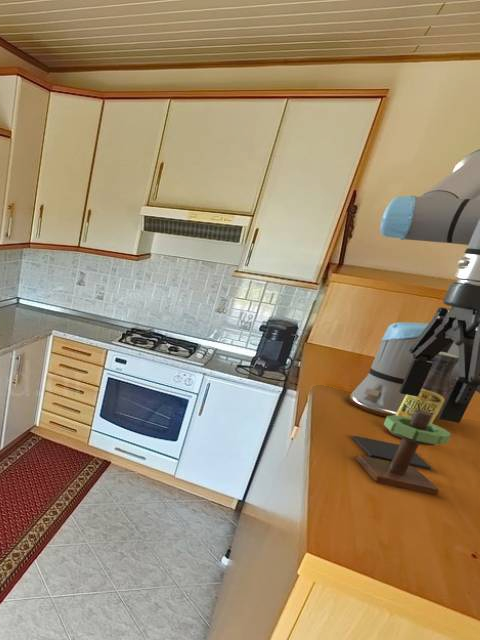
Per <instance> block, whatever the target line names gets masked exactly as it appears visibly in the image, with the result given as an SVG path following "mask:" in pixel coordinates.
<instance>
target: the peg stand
mask: <svg viewBox="0 0 480 640" xmlns="http://www.w3.org/2000/svg"><path fill="white" fill-rule="evenodd" d="M432 416H433V415H432V414H430V413H428V412H425V411H420V410H415V412H414V414H413V416H412V418H411V420H410V423H409V425H408V426H410V427H413V428H416V429H419V430H424V431H426V428H427V426H428V424H429V422H430V420H431V418H432ZM390 432H391V433H390ZM390 432H389V433H390V434H392V435H393V434H394V435H393V436H395V437H397V438H399V437H400V439H401V440H400V441H399V444H398V445H399V447H398V449H397V451H396V453H395V455H394V458H393V460H392V461H387V460H383V459H378V458H373V457H370V456H366V455H361V454H358V456H357V459H356V461H357V462H358V463H359V465H360V466H361V467H362V468H363V469H364V470H365V472H367V474H368V475H369V476H370V477H371V478H372V480H373V481H374V482H375V483H379V484H383V485H388V486H393V487H398V488H401V489H406V490H410V491H415V492H418V493H423V494H428V495H434V496H437V494H438V492H439V491H440V489H439V488H437V486H436V485H434V483H432V481H430V480H429V479H428V478H427V477H426V476H425V475H424V474H423V473H421V472H420V470H418V469H417V467H415V466H411V465H409V464H410V462H411V460H412V458H413V456H414V454H416V452H417V450H418V448H419V445H423V446H436V445H437V444H431V443H426V442H421V441H416V440H415V439H410V438H407V437H405V436H402V435H399V434H397V433H394V432H393V431H390Z"/></svg>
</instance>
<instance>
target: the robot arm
mask: <svg viewBox="0 0 480 640" xmlns="http://www.w3.org/2000/svg"><path fill="white" fill-rule="evenodd" d="M380 233H381V235H382V236H384V237H386V238H392V239H393V238H394V239H400V240H401V241H404V240H405V241H419V242H431V243H442V244H443V243H444V244H453V245H454V244H455V245H464V246H467V247H466V249H465V250H464V254H463V256H462V258H461V259H459V260H458V261H457V266H458V267H457V269H456V271H455V275H454V276H453V277H454V278H455V279H456V280H457V282H452V283H450V284H449V286H448V289H447V291H446V293H445V295H444V297H443V300H442V302H443V304H444V305H446V306H449V308H448V307H441V306H440V307H438V308H437V309H436V311H435V313H434V315H433V317H432V319H431V320H430V321H429V323H427V322H412V321H411V322H408V321H400V322H399V321H398V322H394V323H392V324H390V325H389V326H388V327H387V329H386V331H385V332H384V335H383V336H382V338H381V339H380V340H381V342H380V344H379V347H378V349H377V352H376V353H375V357H374V359H373V362H372V364H371V366H370V369H369V371H368V373H367V375H366V376H365V378H364V379H363V380H362V381H361V382H360V383H359V384H358V385H357V387H356V388H355V389H354V390H353V391H352V392H351V393H350V396H349V398H348V402H349V403H350V404H351V405H352V406H354V407H356V408H358V409H361V410H363V411H365V412H368V413H371V414H374V415H376V416H380V417H383V418H386V417H387V416H392V415H396V413H397V411H398V409H399V408H400V406H401V404H402V402H403V400H404V398H405V396H406V395H412V396H417V397H418V395H419V393H420V391H421V389H422V386H423V384H424V382H425V380H426V378H427V375H428V373H429V371H430V369H431V367H432V364H433V363H431V362H435V361H433V360H435V358H434V357H435V356H436V355H437V354H438V353H440V352H445V353H449V354H453V355H456V356H459V361H458V363H456V364H455V366H454V368H453V370H452V371H451V374H450V376H449V380H450V384H451V388H450V391H449V392H448V394H447V396H446V398H445V401H444V403H443V405H442V407H441V408H440V410H439V412H438V414H437V416H436V419H438V420H442V421H447V422H452V423H456V424H457V423H461V420H462V419H463V417H464V415H465V412H466V411H467V409H468V406H469V405H470V403H471V401H472V399H473V398H474V397H473V396H474V395H475V393H476V392H477V393H478V394H480V148H479V149H476V150H475V151H473V152H471V153H470V154H468V155H466V156H465V157H464V158H462V159H461V160H460V161H459V162H458V163H457V164H456V165H455V167H454V169H453V170H452V173H450V174H449V175H447V176H446V177H444V178H443V179H441V180H440V181H438V183H436V184H435V185H434V186H432V187H431V188H429V189H428V190H427V191H426V192H424V193H423V194H421V195H420V196H415V195H407V196H404V195H403V196H396V197H394V198H393V199H391V200H390V202H389V203H388V204H387V206H386V208H385V210H384V212H383V215H382V217H381V221H380ZM450 307H451V308H450Z"/></svg>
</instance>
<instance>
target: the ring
mask: <svg viewBox="0 0 480 640" xmlns="http://www.w3.org/2000/svg"><path fill="white" fill-rule="evenodd" d="M410 420H411V418H410V417H405V416H400V415H398V416H397V415H392V416H387V417H385V420H384V422H383V426H384V427H386V428H387V429H388V431H389V430H390V431H393V432H394V433H397V434H399V435H402V436H405V437H407V438H410V439H415V440H416V441H421V442H426V443H431V444H436V445H444V444H447V443H448V442H449V441H450V438H451V436H452V433H451V432H449V431H447V429H445V428H443V427H441V426H439V425H437V424H434V423H432V424H431V423H429V424H428V426H427V428H426V431H424V430H419V429H416V428H413V427H410V426H408V425H409V423H410Z"/></svg>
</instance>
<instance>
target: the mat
mask: <svg viewBox="0 0 480 640" xmlns="http://www.w3.org/2000/svg"><path fill="white" fill-rule="evenodd" d="M352 439H353V440H354V441H355V442H356V443H357V444H358V445H359V447H360V448H362V450H364V452H366V454H367V455H368V457H371V458H376V459H380V460H385V461H390V462H392V460H393V458H394V455H395V453H396V451H397V449H398V447H399V444H397V443H392V442H387V441H383V440H382V441H381V440H376V439H372V438H368V437H364V436H363V437H362V436H357V435H352ZM409 466H413V467H415V468H421V469H425V470H430V471H431V470H432V466H430V465H429V464H428V463H427V462H426V461H425V460H423V458H422V457H420V456H419V455H418V454H417V453H415V454H414V456H413V458H412V460H411V462H410V464H409Z"/></svg>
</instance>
